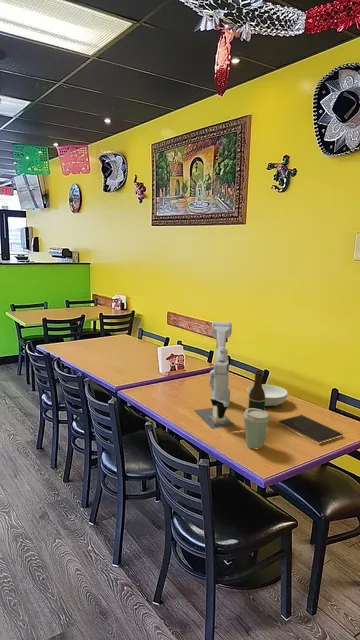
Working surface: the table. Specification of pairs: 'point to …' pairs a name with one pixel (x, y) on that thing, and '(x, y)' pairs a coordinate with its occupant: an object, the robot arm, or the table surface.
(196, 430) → the table surface
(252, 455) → the table surface
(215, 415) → the cream square bottle
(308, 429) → the hardcover book
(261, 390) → the beer bottle
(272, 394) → the serving bowl
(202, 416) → the mat
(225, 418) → the end holder
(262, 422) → the disposable coffee cup
